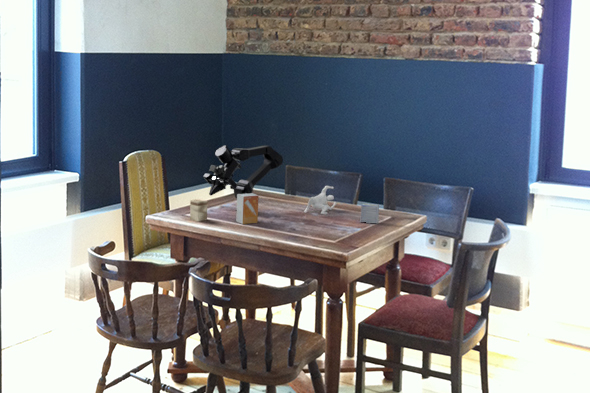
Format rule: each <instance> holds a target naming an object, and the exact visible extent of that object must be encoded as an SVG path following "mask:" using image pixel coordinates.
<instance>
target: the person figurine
mask: <svg viewBox="0 0 590 393" xmlns="http://www.w3.org/2000/svg"><path fill="white" fill-rule="evenodd" d="M328 189H330V190H334V186H330V185H325V186H324V187H323V188H322V190H321V192H320V193H319V194H317V195H316V196H311V197H309V200H308V202H307V206H306V208H305V209H304V210H303V213H304V214H306V213H307V212H308V211H309V208H310V207H311V206H312V208H314V209H319V210H321V212H320V215H326V216H327V215H328V210H329V211H332V210H333V209H334V208H335V206H336V205H337V204H338V203H337V202H336V201H334V202H333V205H331V206H330V205H329V204H328V201H333V200H334V199H335V198H334V195H332V194H329V195H326V194H327V193H326V192H327V190H328Z"/></svg>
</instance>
